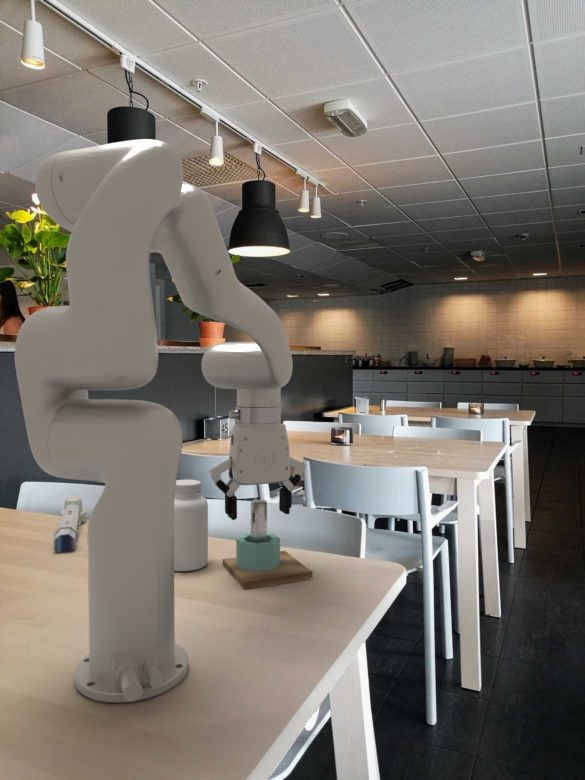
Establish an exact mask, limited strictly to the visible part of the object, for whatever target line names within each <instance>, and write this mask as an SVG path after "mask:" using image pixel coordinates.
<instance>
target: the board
mask: <svg viewBox="0 0 585 780" xmlns="http://www.w3.org/2000/svg"><path fill="white" fill-rule="evenodd" d="M222 567H223V568H224V569H225V570H226V571H227V572H228V573H229V574H230V575H231V576H232V577H233V579H234V580H235V581H236V582H237V583H238V585H240V586H241V587H242V589H243V590H249V589H256V588H261V587H263V588H264V587H269V586H274V585H281V584H286V583H287V584H288V583H293V582H299V581H300V580H301V581H305V579H307V580H311V579H310V578H312V579H313V571H312V570H311V569H310V568H308V567H307V566H306V565H304V564H303V563H301V562H300V561H299V560H298V559H296V558H295V557H294V556H292V555H291V554H290V553H288V552H287V551H286V550H280V565H278V566H277V567H276V568H274V569H273V570H266V571H259V572H255V571H248V570H242V569H241V568H240V567H239V566H238V565H237V564H236V556H235V557H229V558H222Z"/></svg>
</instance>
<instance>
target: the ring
mask: <svg viewBox="0 0 585 780" xmlns="http://www.w3.org/2000/svg"><path fill="white" fill-rule="evenodd" d="M235 546H236V547H235V548H236V549H235V550H236V556H235V557H236V564H237V565H238V566H239V567H240V568H241V569H242V570H248V571H255V572H259V571H266V570H273V569H274V568H276V567H277V566H278V565H280V551H281V538H280V537H279V536H278V535H276V534H274V533H268V532H267V542H262V543H253V542H251V532H250V533H243V534H241V535H240V536H238V537H236V545H235Z"/></svg>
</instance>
